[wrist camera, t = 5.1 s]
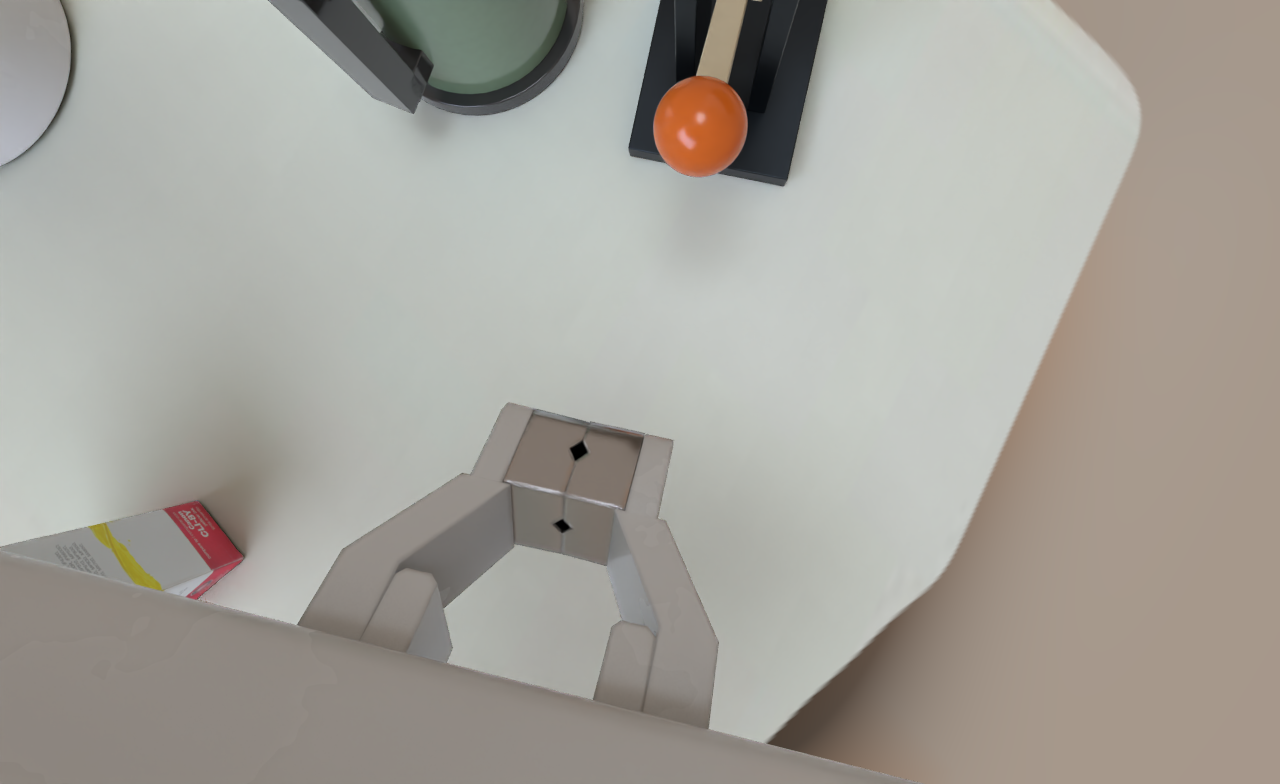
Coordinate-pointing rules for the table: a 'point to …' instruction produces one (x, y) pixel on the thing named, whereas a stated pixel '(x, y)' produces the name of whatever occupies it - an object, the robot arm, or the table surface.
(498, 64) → the green canister
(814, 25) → the switch bracket
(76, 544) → the ink box
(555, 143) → the table surface
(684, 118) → the switch lever
